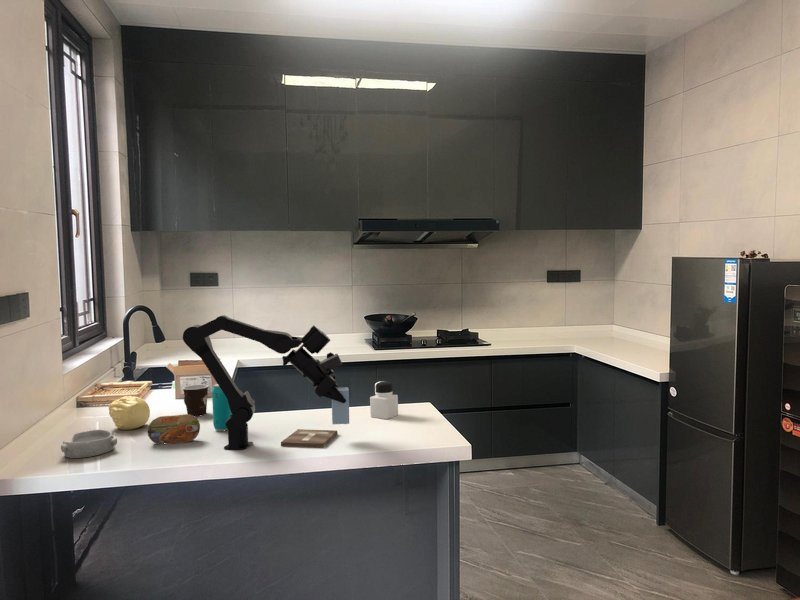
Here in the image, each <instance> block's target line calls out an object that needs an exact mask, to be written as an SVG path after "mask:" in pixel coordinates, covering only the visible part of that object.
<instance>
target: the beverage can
mask: <svg viewBox="0 0 800 600" xmlns="http://www.w3.org/2000/svg"><path fill="white" fill-rule="evenodd" d="M211 396H212V397H211V399H212V400H211V401H212V418H213V419H212V421H213V422H212V423H213V428H214V430H215V431H216V430H217V431H216V432H225V431H224V430H227V431H228V429H227V427H226V425H225V423H226V421H227V420H228V418H229V417H230V415H231V414H232V413H231V410H230V408H229V404H228V401H227V398H226V396H225V394H224V393H223V391H222V390H221V388H220V387H219V385H218V384H217V382H216V383H213V384H212V388H211Z"/></svg>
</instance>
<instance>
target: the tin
mask: <svg viewBox="0 0 800 600" xmlns="http://www.w3.org/2000/svg"><path fill="white" fill-rule="evenodd" d="M200 431H201V423H200V421H199V419H198V418H197V416H196V417H194V416H193V415H190V414H187V413H185V414H175V415H163V416H158V417H156V418H154V419H153V420H152V421H151V422H150V423H149V424H148V427H147V436H148V438H149V439H150V440H151V442H153V443H154V444H156V445H165V444H164V443H172V444H177V443H176V442H185V443H190V442H192V441H193V440H195V439H197V437H198V436H199V433H200Z"/></svg>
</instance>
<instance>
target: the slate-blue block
mask: <svg viewBox="0 0 800 600" xmlns="http://www.w3.org/2000/svg"><path fill="white" fill-rule="evenodd" d="M338 387H339V386H338ZM337 389H338V390H339V391H340V393H341V394H342V395H343V397H344V398H345V399H346V402H345V403H341V402H339V401H336V400H333V399H331V422H332V423H331V424H332V425H349V424H350V392H349V391H350V389H349V387H347V386H345V387H344V386H341V387H339V388H337Z"/></svg>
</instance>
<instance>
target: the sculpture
mask: <svg viewBox="0 0 800 600" xmlns="http://www.w3.org/2000/svg"><path fill="white" fill-rule="evenodd" d="M108 411H109V412H108V413H109V417H111V419H112V421H113V423H114V426H115V427H116V428H118V429H120V430H123V431H124V430H127V431H130V430H135V429H138V428H141V427H143V426H145V425H146V424H147V423H148V421H149V420H150V417H151V410H150V406H149V404H148V403H147V402H146V400H144V399H143V398H141V397H137V396H131V395H124V396H122V397H120V398H118V399H115V400H113V401H112V402H111V403H110V404H109V405H108Z"/></svg>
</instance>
